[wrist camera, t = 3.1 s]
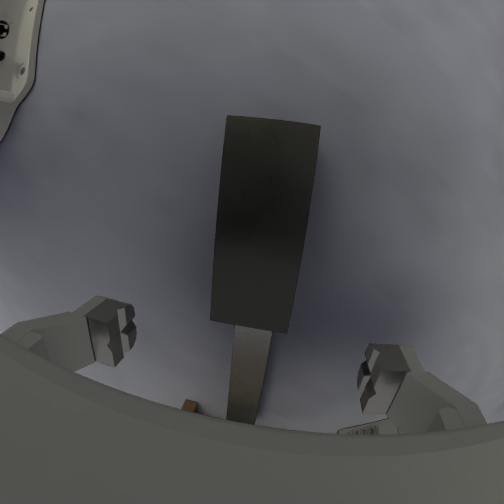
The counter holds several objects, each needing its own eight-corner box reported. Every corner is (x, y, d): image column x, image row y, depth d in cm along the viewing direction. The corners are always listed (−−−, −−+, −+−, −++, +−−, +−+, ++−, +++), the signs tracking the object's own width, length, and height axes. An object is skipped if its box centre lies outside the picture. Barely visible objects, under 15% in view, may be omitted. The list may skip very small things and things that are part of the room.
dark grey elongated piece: (251, 128, 19) (227, 115, 12) (312, 136, 18) (320, 125, 12) (224, 404, 27) (206, 460, 20) (264, 412, 26) (254, 470, 20)
